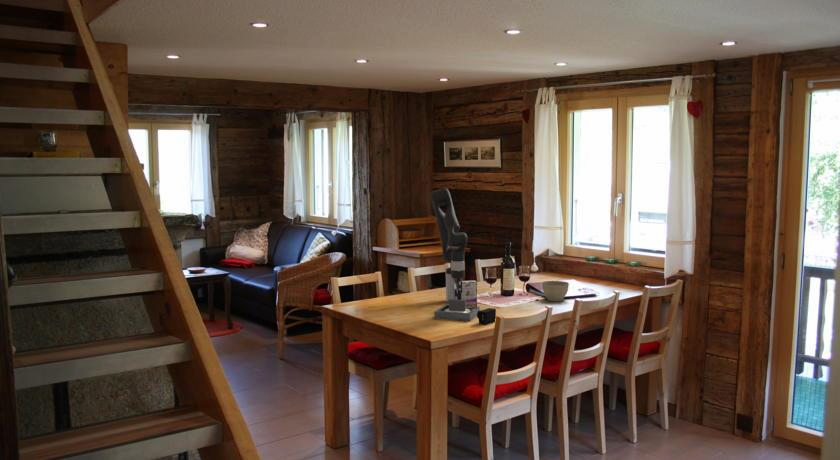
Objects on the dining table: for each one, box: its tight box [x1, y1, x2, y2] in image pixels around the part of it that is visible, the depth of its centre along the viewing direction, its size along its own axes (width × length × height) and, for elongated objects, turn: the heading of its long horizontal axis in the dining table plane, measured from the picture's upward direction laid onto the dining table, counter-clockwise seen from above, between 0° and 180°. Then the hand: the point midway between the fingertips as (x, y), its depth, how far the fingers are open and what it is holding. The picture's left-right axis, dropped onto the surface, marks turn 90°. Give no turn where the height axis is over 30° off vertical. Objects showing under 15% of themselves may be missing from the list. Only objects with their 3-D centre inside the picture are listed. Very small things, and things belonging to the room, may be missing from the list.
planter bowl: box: [541, 280, 570, 302], centre depth 426 cm, size 16×16×11 cm
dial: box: [445, 299, 470, 313], centre depth 382 cm, size 14×14×7 cm
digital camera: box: [476, 307, 497, 326], centre depth 367 cm, size 10×5×7 cm, turn 143°
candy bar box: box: [459, 280, 478, 307], centre depth 400 cm, size 11×5×16 cm, turn 101°
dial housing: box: [433, 303, 481, 322], centre depth 383 cm, size 20×20×4 cm
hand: (458, 298), depth 382 cm, fingers open, 8 cm apart
